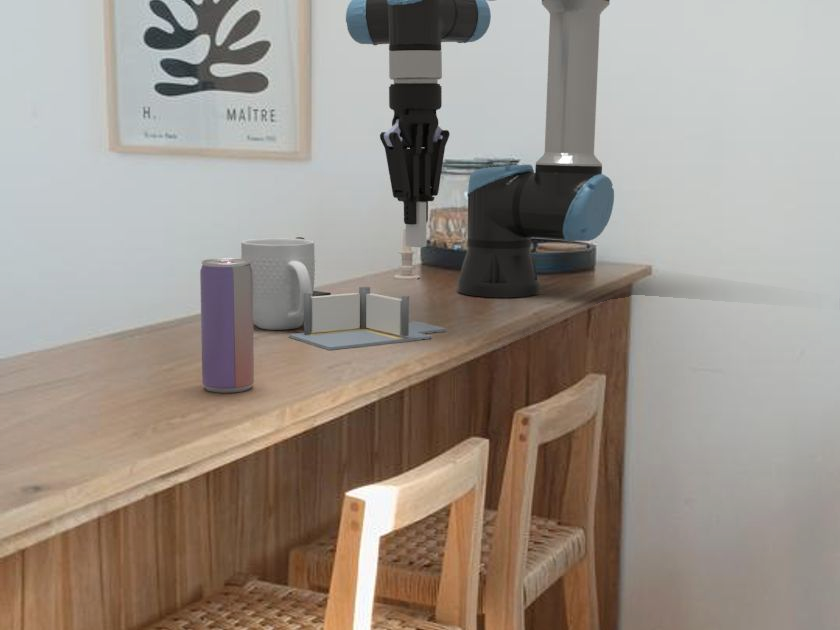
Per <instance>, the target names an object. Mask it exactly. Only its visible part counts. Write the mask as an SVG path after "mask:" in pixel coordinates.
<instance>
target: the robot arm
mask: <svg viewBox="0 0 840 630" xmlns="http://www.w3.org/2000/svg"><path fill="white" fill-rule="evenodd" d="M488 1H489V2H493V1H496V0H351V1H349V3H348V5H347V8H346V13H345V22H346V27H347V32H348V33H349V35H350V37H351V39H352V40H354V42H356V43H358V44H360V45H373V46H378V45H388V55H389V56H388V62H389V63H388V64H389V65H388V66H389V67H388V69H389V72H388V73H389V75H388V76H389V79H390V80H392V81H393V83H390V86H388V102H389V103H388V106H389V108H390V110H392V111H393V117H392V120H391V127H390V129H388V131H382V132H381V133H380V134H379V138H380V141H381V143H382V145H383V147H384V151H385V156H386V162H387V168H388V174H389V180H390V185H391V191H392V197H394V198H395V199H397V201H399V202H403V203H402V204H403V223H404V224H405V229H406V246H410V247H411V248H425V247H427V223H428V219H429V202H434V201H435V197H436V196H438V195H439V190H440V183H441V177H442V168H443V162H444V159H445V158H444V157H445V151H446V145H447V143H448V140H449V139H450V138H449V137H450V131H449V130H447V129H444V130H443V128H441V126H439V119H438V116H437V111H438V110H440V109H441V108H442V106H443V105H442V100H443V99H442V85H441V83H438V81H439V80H441V79H442V78H443V68H442V67H443V65H442V64H443V63H442V59H443V58H442V43H458V44H462V43H463V44H468V43H472V42H473V43H474V42H477V41H478V40H480V39H481V38H483V37H484V35H485V34H486V33H487V31H488V30H489V27H490V25H491V9H490V6H489V3H488ZM541 5H542V6H543V7H544V8H545V9H546V10H547V12H548V14H549V29H548V30H549V34H548V53H547V54H548V55H547V57H548V59H547V79H546V80H547V83H546V105H545V106H546V111H545V131H544V133H545V139H544V153H543V155H542V156H541V157H540V158H538V159H537V161H535V167H534V168H535V169H534V168H533V165H532V164H517V165H516V164H515V165H505V166H503V165H502V166H495V167H488V168H486V167H485V168H479V169H476V170H474V171H472V173H471V174H470V175H469V177H468V178H469V179H468V190H467V193H466V197H467V248H466V249H467V250H466V254H465V256H464V259H463V262H462V266H461V270H460V272H459V276H458V278H457V281H456V282H457V285H456V287H457V290H456V291H457V292H458V293H459V294H462V295H467V296H473V297H474V296H475V297H483V298H484V297H485V298H486V297H487V298H522V297H531V295H532V296H536V295H538V294H540V279H539V277H538V274H537V273H538V272H537V269H536V265H535V261H534V258H533V255H532V250H531V249H532V246H531V245H532V239H533V238H534V239H542V240H543V239H544V240H555V241H556V240H559V241H566V242H568V243H569V242H570V243H571V242H588V241H592V240H595V239H596V238H598V237H599V236H600V235H601V234H602V233H603V232H604V230H605V228H606V227H607V226H608V223H609V221H610V218H611V216H612V212H613V208H614V201H615V191H614V188H613V183H612V180H611V179H610V177H608V176H606V175H605V174H603V164H602V162H601V161H600V160H599V159H598V158H597V157H596V155H595V140H596V139H595V138H596V137H595V135H596V115H597V113H596V112H597V92H598V71H599V70H598V69H599V66H598V65H599V50H600V49H599V46H600V45H599V44H600V23H601V14H602V13H603V12H604V10H606V9H607V8H608V6H609V5H610V0H541ZM537 293H538V294H537ZM535 294H536V295H535Z"/></svg>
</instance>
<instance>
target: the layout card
mask: <svg viewBox="0 0 840 630" xmlns="http://www.w3.org/2000/svg"><path fill="white" fill-rule="evenodd" d="M440 331H448V329H447V328H445V327H442V326H436V325H433V324H429V323H425V322H421V321H409V335H408V336H402V335H397V334H392V333H388V332H384V331H379V330H375V329H371V328H370V329H359V327H358V328H348V329H338V330H328V331H318V332H311V334H310V335H304V332H299V333H290V334H289V333H288V338H290V339H294V340H296V341H299V342H303V343H306V344H309V345H313V346H315V347H318V348H322V349H325V350H327V351H335V350H343V349H344V350H345V349H350V348H351V349H353V348H362V347H370V346H379V345H387V344H397V343H405V342H406V343H407V342H416V341H423V340H422V339H425V340H430V339H429V338H431V339H432V335H429V334H434V333H433V332H437V333H441V332H440ZM425 333H428V334H425ZM415 340H416V341H415Z"/></svg>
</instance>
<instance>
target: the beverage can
mask: <svg viewBox="0 0 840 630" xmlns="http://www.w3.org/2000/svg"><path fill="white" fill-rule="evenodd" d="M250 263H251V261H250V260H247V259H241V258H235V257H234V258H231V257H228V258H227V257H226V258H223V257H222V258H209V259H208V258H207V259H204V260H202V261H201V264H202V265H201V268H200V273H199V274H200V275H199V277H200V278H199V279H200V325H201V326H200V328H201V330H200V331H201V376H202V377H201V380H202V381H201V383H202V385H203V386H204V389H206V391H208V392H211V393H220V394H235V393H242V392H246V391H249V390H250V389H251V388H252V386H253V385H254V382H255V373H254V371H255V370H254V369H255V365H254V364H255V362H254V360H255V359H254V356H255V355H254V353H255V352H254V351H255V350H254V322H253V270H252V268H251V265H250Z"/></svg>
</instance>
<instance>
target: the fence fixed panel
mask: <svg viewBox="0 0 840 630" xmlns="http://www.w3.org/2000/svg"><path fill="white" fill-rule="evenodd" d="M358 291H359V292H358V293H357V292H351V293H341V294H340V293H338V294H337V293H336V294H331V295H325V296H313V297H311V293H304V322H303V333H304V335H310V334H311V332H318V331H328V330H338V329H348V328H358V327H359V329H370V328H366V294H371V287H370V286H359V288H358Z"/></svg>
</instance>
